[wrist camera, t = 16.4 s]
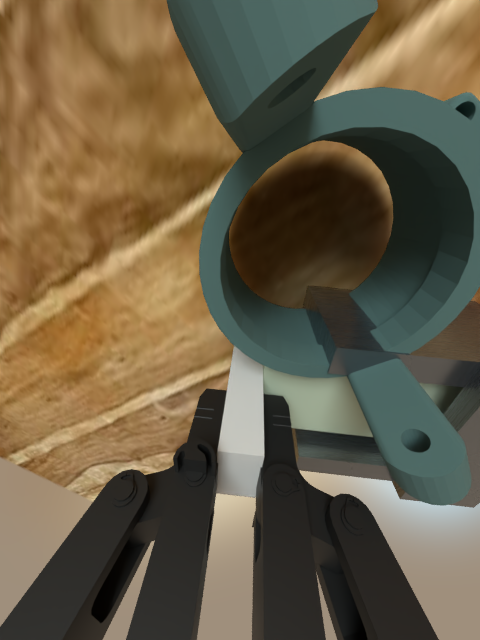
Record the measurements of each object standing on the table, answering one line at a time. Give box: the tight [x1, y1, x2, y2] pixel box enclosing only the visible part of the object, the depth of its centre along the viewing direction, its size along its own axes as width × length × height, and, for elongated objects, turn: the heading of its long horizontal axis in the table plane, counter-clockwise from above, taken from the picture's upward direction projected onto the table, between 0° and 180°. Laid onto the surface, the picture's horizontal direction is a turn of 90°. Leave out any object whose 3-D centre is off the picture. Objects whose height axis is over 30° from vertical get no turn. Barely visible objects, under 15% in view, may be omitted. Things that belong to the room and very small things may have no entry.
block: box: [263, 365, 464, 437], centre depth 13 cm, size 10×4×5 cm, turn 85°
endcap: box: [292, 286, 480, 507], centre depth 12 cm, size 9×8×7 cm
